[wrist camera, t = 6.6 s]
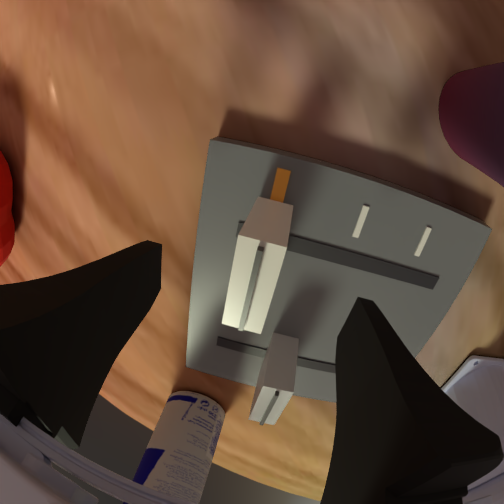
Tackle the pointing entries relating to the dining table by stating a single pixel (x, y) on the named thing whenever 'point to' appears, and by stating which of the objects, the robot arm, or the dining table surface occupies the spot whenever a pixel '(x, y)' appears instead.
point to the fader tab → (257, 264)
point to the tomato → (6, 211)
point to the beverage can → (182, 446)
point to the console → (319, 268)
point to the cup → (476, 118)
